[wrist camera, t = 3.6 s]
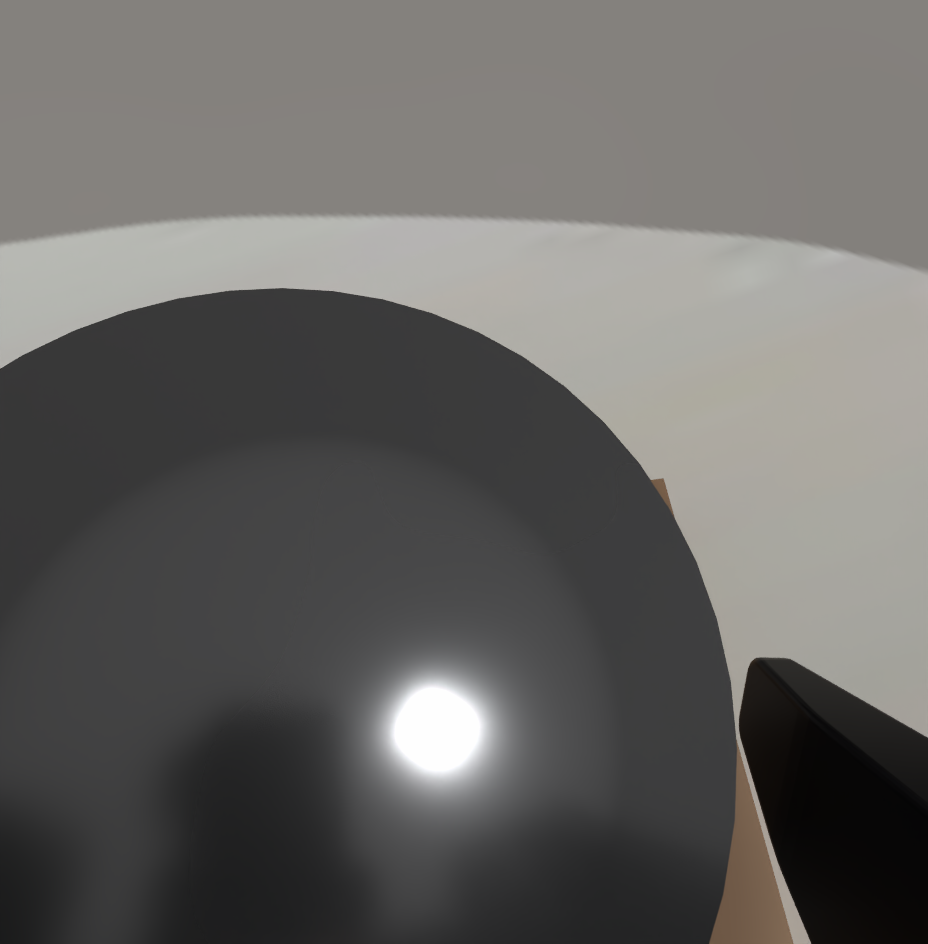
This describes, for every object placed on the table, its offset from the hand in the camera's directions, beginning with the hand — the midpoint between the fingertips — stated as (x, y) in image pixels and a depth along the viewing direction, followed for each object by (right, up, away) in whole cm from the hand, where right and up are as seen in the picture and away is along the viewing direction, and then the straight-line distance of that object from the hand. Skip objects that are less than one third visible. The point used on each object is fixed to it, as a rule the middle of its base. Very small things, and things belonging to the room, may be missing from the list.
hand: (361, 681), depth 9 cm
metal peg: (0, -4, +6) cm, 8 cm away
